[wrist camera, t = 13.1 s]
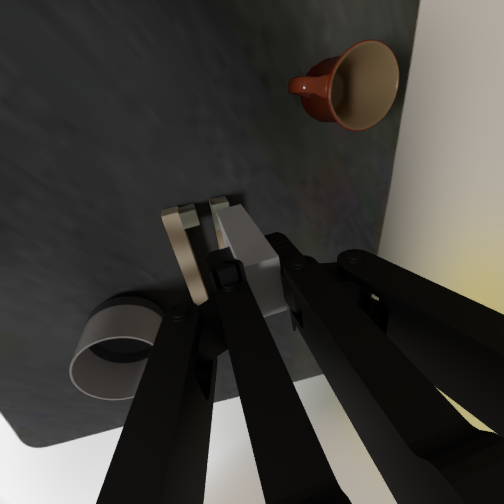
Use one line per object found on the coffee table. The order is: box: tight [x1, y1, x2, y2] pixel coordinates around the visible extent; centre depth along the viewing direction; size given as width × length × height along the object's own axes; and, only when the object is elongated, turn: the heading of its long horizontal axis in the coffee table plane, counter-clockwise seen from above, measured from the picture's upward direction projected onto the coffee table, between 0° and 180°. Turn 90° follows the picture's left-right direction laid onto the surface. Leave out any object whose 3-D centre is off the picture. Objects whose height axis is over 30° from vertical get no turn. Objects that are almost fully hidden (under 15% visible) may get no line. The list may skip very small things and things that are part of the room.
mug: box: [288, 40, 399, 131], centre depth 35 cm, size 12×9×10 cm
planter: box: [69, 296, 165, 400], centre depth 44 cm, size 13×13×10 cm
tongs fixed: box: [161, 204, 209, 305], centre depth 45 cm, size 24×6×6 cm, turn 11°
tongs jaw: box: [209, 196, 229, 249], centre depth 46 cm, size 22×2×3 cm, turn 7°
